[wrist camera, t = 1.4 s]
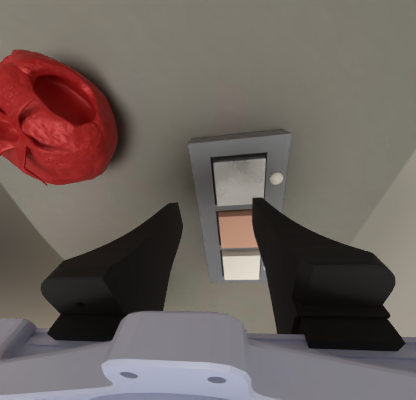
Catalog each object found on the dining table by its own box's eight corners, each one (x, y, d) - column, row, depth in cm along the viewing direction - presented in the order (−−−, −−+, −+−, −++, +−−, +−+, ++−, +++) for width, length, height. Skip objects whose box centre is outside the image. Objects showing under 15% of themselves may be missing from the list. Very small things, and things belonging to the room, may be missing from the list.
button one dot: (259, 194, 19) (263, 203, 17) (217, 197, 19) (217, 206, 18) (261, 152, 17) (265, 158, 15) (213, 157, 17) (213, 162, 15)
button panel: (269, 267, 27) (273, 283, 24) (211, 268, 28) (210, 283, 25) (282, 129, 17) (292, 133, 14) (191, 138, 18) (187, 144, 15)
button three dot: (258, 236, 22) (260, 247, 20) (221, 238, 22) (221, 248, 21) (259, 205, 19) (262, 214, 18) (218, 208, 20) (218, 217, 18)
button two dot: (256, 268, 25) (259, 279, 23) (224, 268, 25) (224, 280, 24) (257, 244, 22) (260, 255, 21) (222, 245, 23) (222, 256, 21)
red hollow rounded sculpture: (124, 179, 21) (65, 231, 13) (35, 146, 19) (-91, 182, 12) (138, 89, 16) (57, 85, 8) (20, 36, 14) (-222, -35, 7)
